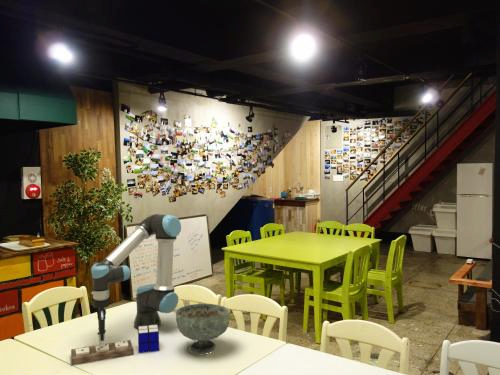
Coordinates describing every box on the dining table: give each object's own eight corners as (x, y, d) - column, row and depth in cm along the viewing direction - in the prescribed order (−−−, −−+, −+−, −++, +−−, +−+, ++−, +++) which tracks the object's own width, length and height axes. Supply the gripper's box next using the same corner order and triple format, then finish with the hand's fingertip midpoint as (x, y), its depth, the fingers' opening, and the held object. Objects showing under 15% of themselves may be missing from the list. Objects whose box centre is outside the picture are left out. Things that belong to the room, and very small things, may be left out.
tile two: (127, 346, 216) (126, 340, 216) (128, 350, 210) (128, 344, 210) (114, 348, 213) (114, 342, 213) (115, 352, 208) (115, 346, 208)
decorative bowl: (165, 355, 206) (166, 314, 206) (188, 336, 231) (189, 299, 230) (216, 364, 198) (218, 321, 198) (234, 343, 223) (236, 305, 222)
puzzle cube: (138, 353, 210) (138, 333, 209) (138, 345, 219) (137, 326, 219) (159, 351, 212) (158, 331, 212) (158, 343, 222) (157, 324, 222)
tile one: (89, 352, 209) (88, 346, 209) (89, 357, 203) (89, 351, 203) (75, 354, 206) (75, 348, 206) (75, 359, 201) (75, 353, 201)
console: (130, 345, 219) (130, 339, 219) (133, 354, 208) (133, 348, 208) (71, 355, 208) (71, 349, 208) (71, 365, 197) (71, 359, 197)
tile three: (108, 349, 212) (108, 343, 212) (109, 354, 207) (109, 347, 207) (95, 351, 210) (95, 345, 210) (96, 356, 204) (96, 350, 204)
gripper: (92, 295, 212) (93, 342, 213) (93, 302, 200) (94, 352, 201) (108, 293, 215) (108, 340, 215) (110, 300, 203) (111, 350, 203)
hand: (102, 346), depth 208 cm, fingers closed
